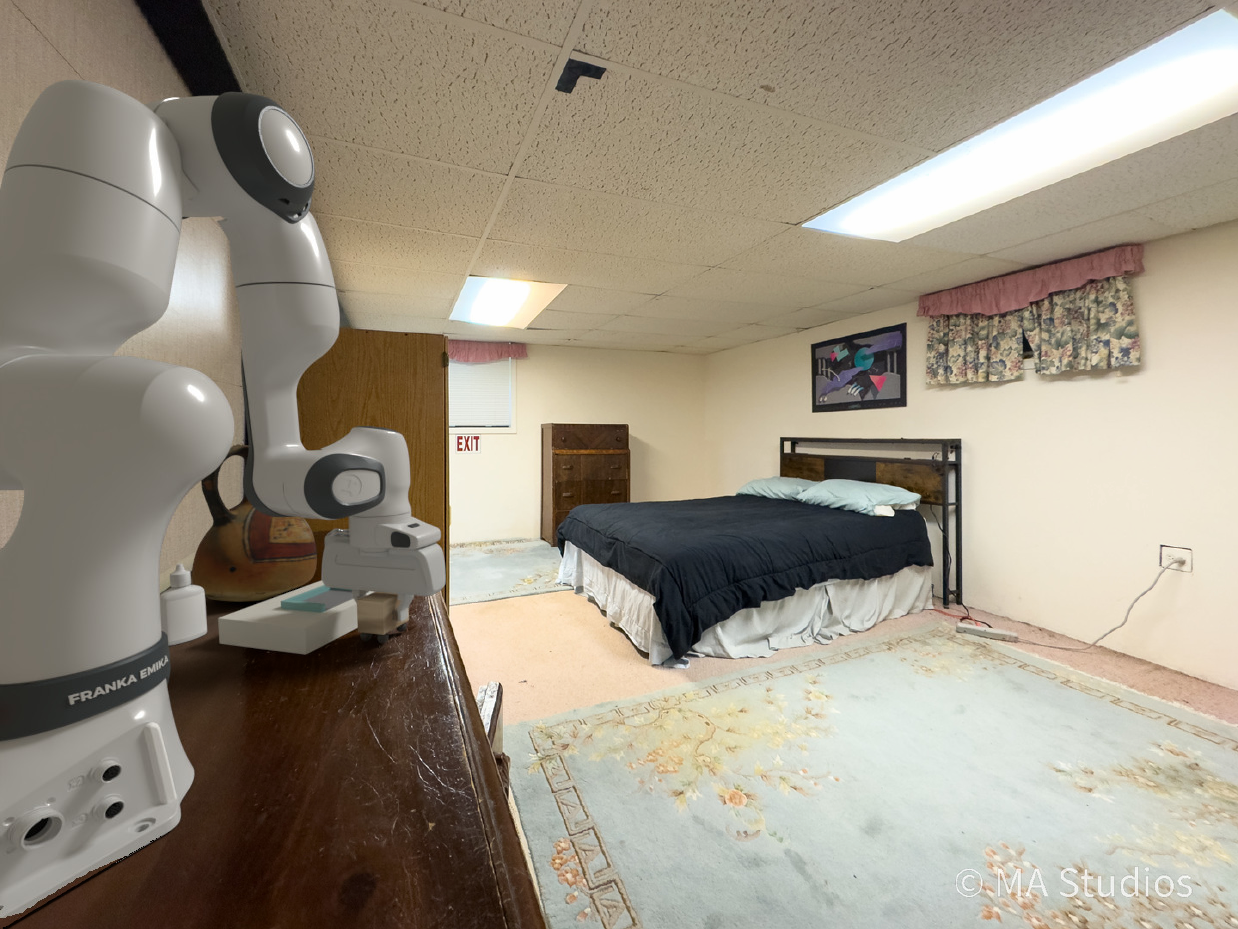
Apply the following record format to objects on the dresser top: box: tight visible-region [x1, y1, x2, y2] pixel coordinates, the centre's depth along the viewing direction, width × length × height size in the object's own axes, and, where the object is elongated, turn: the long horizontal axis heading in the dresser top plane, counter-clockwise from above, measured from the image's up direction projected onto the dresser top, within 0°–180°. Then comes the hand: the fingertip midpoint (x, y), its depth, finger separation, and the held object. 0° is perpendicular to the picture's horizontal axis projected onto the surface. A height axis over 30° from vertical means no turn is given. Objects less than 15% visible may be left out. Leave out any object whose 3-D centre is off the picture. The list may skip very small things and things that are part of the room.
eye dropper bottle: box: [160, 563, 208, 647], centre depth 80 cm, size 4×6×12 cm
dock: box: [217, 579, 374, 655], centre depth 87 cm, size 20×16×5 cm
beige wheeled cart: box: [357, 592, 410, 644], centre depth 81 cm, size 6×5×7 cm
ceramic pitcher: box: [191, 443, 318, 603], centre depth 101 cm, size 20×20×30 cm
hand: (383, 618), depth 81 cm, fingers closed on beige wheeled cart, 5 cm apart
